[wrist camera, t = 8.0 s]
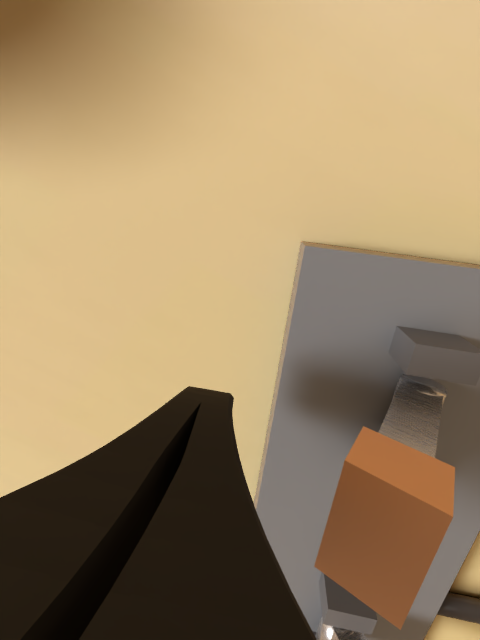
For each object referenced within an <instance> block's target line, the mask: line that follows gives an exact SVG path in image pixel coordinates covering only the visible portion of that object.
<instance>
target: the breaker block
mask: <svg viewBox="0 0 480 640" xmlns="http://www.w3.org/2000/svg"><path fill="white" fill-rule="evenodd" d="M402 374H406V375H412V376H418V377H425V378H429V379H432V380H434V381H436V382H438V383H439V384H441V385H442V386H444V387H445V388H446V390H447V395H446V398H445V401H444V403H443V406H442V409H441V416H440V424H439V432H438V439H437V447H436V454H435V458H436V459H438V460H440V461H442V462H444V463H447V464H449V465H451V466H453V467H455V484H454V510H453V518H452V521H451V523H450V525H449V527H448V529H447V531H446V533H445V536H444V538H443V540H442V542H441V544H440V546H439V548H438V551H437V553H436V555H435V557H434V559H433V561H432V564H431V566H430V568H429V570H428V572H427V574H426V576H425V579H424V581H423V583H422V585H421V587H420V589H419V591H418V594H417V596H416V598H415V600H414V602H413V604H412V606H411V609H410V611H409V613H408V615H407V617H406V619H405V621H404V624H403V626H402V628H401V630H400V629H398V628H397V627H396V626H394V625H393V624H392V623H390V622H389V621H387V620H386V619H385V618H383V617H382V616H381V615H379V614H378V613H377V612H375V611H374V610H373V609H371V608H370V607H368V606H367V605H366V604H364V603H363V602H362V601H360V600H359V599H358V598H356V597H355V596H354V595H352V594H351V593H349V592H348V591H347V590H345V589H344V588H343V587H341V586H340V585H339V584H337V583H336V582H335V581H333V580H332V579H330V578H329V577H328V576H326V575H325V574H324V573H322V572H321V571H320V570H318V569H317V568H316V567H314V565H315V561H316V558H317V555H318V551H319V548H320V544H321V541H322V537H323V534H324V530H325V527H326V523H327V520H328V516H329V513H330V510H331V506H332V503H333V499H334V496H335V492H336V489H337V485H338V482H339V478H340V475H341V471H342V468H343V465H344V461H345V459H346V457H347V455H348V453H349V452H350V450H351V448H352V446H353V444H354V442H355V441H356V439H357V437H358V435H359V433H360V431H361V429H362V428H363V426H364V427H367V428H369V429H371V430H373V431H375V432H379V430H380V427H381V425H382V423H383V421H384V418H385V416H386V414H387V412H388V410H389V407H390V405H391V402H392V398H393V395H394V392H395V389H396V386H397V383H398V380H399V377H400V375H402ZM254 506H255V509H256V512H257V514H258V517H259V519H260V522H261V524H262V527H263V529H264V532H265V534H266V537H267V539H268V541H269V544H270V546H271V548H272V550H273V552H274V554H275V556H276V559H277V561H278V563H279V565H280V567H281V569H282V572H283V574H284V576H285V578H286V580H287V582H288V585H289V587H290V589H291V591H292V593H293V595H294V597H295V599H296V601H297V603H298V605H299V606H300V608H301V610H302V612H303V614H304V616H305V618H306V620H307V622H308V624H309V626H310V628H311V630H312V632H313V633H314V635H316V632H317V629H318V626H319V623H320V620H321V617H322V618H323V624H325V625H329V626H333V627H338V628H342V629H346V630H351V631H355V632H359V633H363V634H364V635H365V637H366V639H367V640H424V638H425V636H426V634H427V632H428V630H429V628H430V626H431V624H432V622H433V621H434V619H435V617H436V615H437V614H438V615H442V616H447V617H451V618H456V619H460V620H465V621H469V622H474V623H478V624H480V599H478V598H473V597H468V596H464V595H459V594H454V593H450V592H448V591H449V589H450V587H451V585H452V583H453V582H454V580H455V578H456V576H457V574H458V572H459V570H460V568H461V566H462V564H463V562H464V560H465V558H466V556H467V554H468V552H469V550H470V548H471V546H472V545H473V543H474V541H475V539H476V537H477V535H478V533H479V531H480V265H475V264H468V263H460V262H453V261H445V260H438V259H430V258H423V257H415V256H408V255H400V254H393V253H385V252H378V251H370V250H363V249H355V248H348V247H340V246H333V245H325V244H318V243H310V242H303V241H301V245H300V251H299V256H298V262H297V267H296V273H295V279H294V284H293V290H292V295H291V301H290V306H289V312H288V317H287V323H286V329H285V334H284V340H283V345H282V351H281V356H280V362H279V367H278V373H277V379H276V384H275V390H274V395H273V401H272V406H271V412H270V417H269V423H268V429H267V434H266V440H265V445H264V451H263V456H262V462H261V467H260V473H259V479H258V484H257V490H256V495H255V501H254Z"/></svg>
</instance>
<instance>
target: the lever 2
mask: <svg viewBox="0 0 480 640" xmlns="http://www.w3.org/2000/svg"><path fill="white" fill-rule="evenodd" d="M446 395H447V390H446V388H445V387H444V386H442V385H441V384H439V383H438V382H436V381H434V380H432V379H429V378H425V377H418V376H412V375H406V374H402V375H400V377H399V380H398V383H397V386H396V389H395V392H394V395H393V398H392V402H391V405H390V407H389V410H388V412H387V414H386V416H385V418H384V421H383V423H382V425H381V427H380V430H379V432H375V431H373V430H371V429H369V428H367V427H364V426H363V428H362V429H361V431H360V433H359V435H358V437H357V439H356V441H355V442H354V444H353V446H352V448H351V450H350V452H349V453H348V455H347V457H346V459H345V461H344V465H343V468H342V471H341V475H340V478H339V482H338V485H337V489H336V492H335V496H334V499H333V503H332V506H331V510H330V513H329V516H328V520H327V523H326V527H325V530H324V534H323V537H322V541H321V544H320V548H319V551H318V555H317V558H316V561H315V565H314V567H316V568H317V569H318V570H320V571H321V572H322V573H324V574H325V575H326V576H328V577H329V578H330V579H332V580H333V581H335V582H336V583H337V584H339V585H340V586H341V587H343V588H344V589H345V590H347V591H348V592H349V593H351V594H352V595H354V596H355V597H356V598H358V599H359V600H360V601H362V602H363V603H364V604H366V605H367V606H368V607H370V608H371V609H373V610H374V611H375V612H377V613H378V614H379V615H381V616H382V617H383V618H385V619H386V620H387V621H389V622H390V623H392V624H393V625H394V626H396V627H397V628H398V629H400V630H401V628H402V626H403V624H404V621H405V619H406V617H407V615H408V613H409V611H410V609H411V606H412V604H413V602H414V600H415V598H416V596H417V594H418V591H419V589H420V587H421V585H422V583H423V581H424V579H425V576H426V574H427V572H428V570H429V568H430V566H431V564H432V561H433V559H434V557H435V555H436V553H437V551H438V548H439V546H440V544H441V542H442V540H443V538H444V536H445V533H446V531H447V529H448V527H449V525H450V523H451V521H452V518H453V510H454V484H455V467H453V466H451V465H449V464H447V463H444V462H442V461H440V460H438V459H436V458H435V454H436V447H437V439H438V432H439V424H440V416H441V409H442V406H443V403H444V401H445V398H446Z"/></svg>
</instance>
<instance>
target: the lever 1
mask: <svg viewBox="0 0 480 640" xmlns="http://www.w3.org/2000/svg"><path fill="white" fill-rule="evenodd" d="M315 637H316V639H317V640H367V639H366V637H365V635H364V634H363V633H359V632H355V631H351V630H346V629H342V628H338V627H333V626H329V625H325V624H323V618H322V617H321V620H320V623H319V626H318V629H317V632H316V635H315Z"/></svg>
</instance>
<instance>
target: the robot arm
mask: <svg viewBox="0 0 480 640" xmlns="http://www.w3.org/2000/svg"><path fill="white" fill-rule="evenodd" d="M233 400H234V398H233V396H232V395H231V394H230V393H225V392H219V391H213V390H207V389H202V388H196V387H190V386H189V387H187V388H186V389H184V390H183V391H182V392H180V393H179V394H178V395H176V396H175V397H174V398H172V399H171V400H170V401H169V402H167V403H166V404H165V405H163V406H162V407H161V408H159V409H158V410H157V411H155V412H154V413H152V414H151V415H150V416H148V417H147V418H145V419H144V420H143V421H141V422H140V423H139V424H137V425H136V426H134V427H133V428H131V429H130V430H128V431H127V432H125V433H123V434H122V435H120V436H119V437H117V438H116V439H114V440H113V441H111V442H110V443H108V444H106V445H105V446H103V447H101V448H100V449H98V450H96V451H94V452H93V453H91V454H89V455H87V456H86V457H84V458H82V459H80V460H78V461H76V462H74V463H72V464H71V465H69V466H67V467H65V468H63V469H61V470H59V471H57V472H55V473H53V474H51V475H49V476H46V477H44V478H42V479H40V480H38V481H36V482H33V483H31V484H29V485H27V486H25V487H23V488H20V489H18V490H16V491H14V492H12V493H10V494H7V495H5V496H3V497H1V498H0V640H317V639H316V637H315V635H314V633H313V632H312V630H311V628H310V626H309V624H308V622H307V620H306V618H305V616H304V614H303V612H302V610H301V608H300V606H299V605H298V603H297V601H296V599H295V597H294V595H293V593H292V591H291V589H290V587H289V585H288V582H287V580H286V578H285V576H284V574H283V572H282V569H281V567H280V565H279V563H278V561H277V559H276V556H275V554H274V552H273V550H272V548H271V546H270V544H269V541H268V539H267V537H266V534H265V532H264V529H263V527H262V524H261V522H260V519H259V517H258V514H257V512H256V509H255V506H254V503H253V501H252V498H251V495H250V492H249V489H248V486H247V483H246V480H245V476H244V473H243V469H242V465H241V462H240V458H239V454H238V449H237V444H236V439H235V434H234V427H233V418H232V407H233Z"/></svg>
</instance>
